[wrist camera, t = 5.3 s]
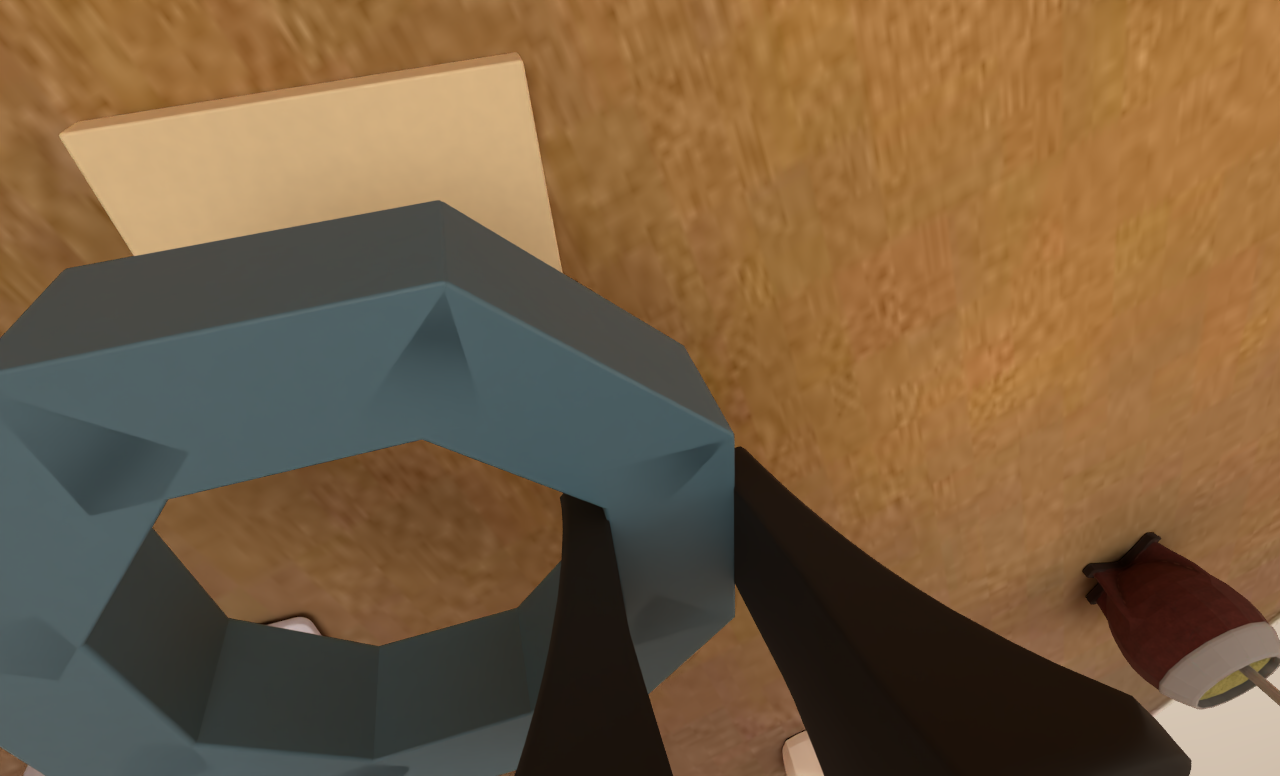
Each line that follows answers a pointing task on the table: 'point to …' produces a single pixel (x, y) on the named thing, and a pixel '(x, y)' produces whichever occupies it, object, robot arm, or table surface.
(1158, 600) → the mate gourd
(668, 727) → the table surface
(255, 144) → the peg stand
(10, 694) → the ring
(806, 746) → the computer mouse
